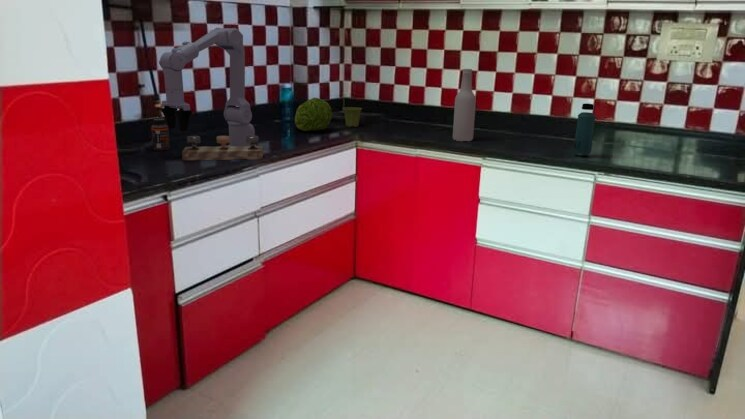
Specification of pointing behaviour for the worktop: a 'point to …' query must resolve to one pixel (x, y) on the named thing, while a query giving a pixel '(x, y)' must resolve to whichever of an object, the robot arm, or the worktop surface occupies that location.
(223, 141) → the pot knob
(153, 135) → the supplement bottle
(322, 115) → the lettuce
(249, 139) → the knob
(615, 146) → the worktop surface
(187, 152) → the knob bar
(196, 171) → the worktop surface
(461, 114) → the alcohol
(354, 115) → the plant pot
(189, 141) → the knob
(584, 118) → the beverage bottle
